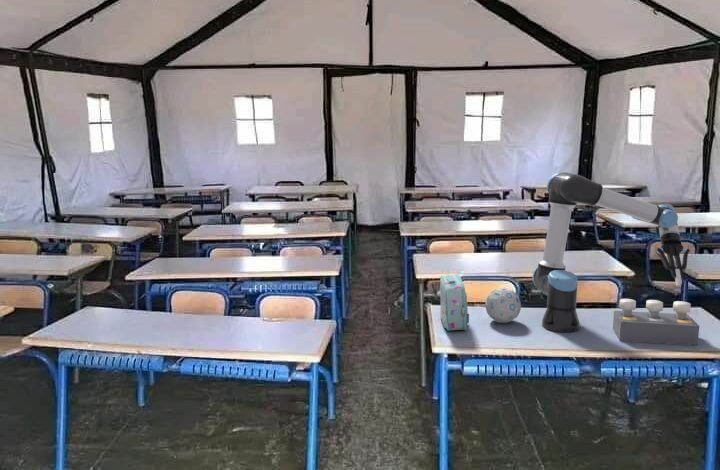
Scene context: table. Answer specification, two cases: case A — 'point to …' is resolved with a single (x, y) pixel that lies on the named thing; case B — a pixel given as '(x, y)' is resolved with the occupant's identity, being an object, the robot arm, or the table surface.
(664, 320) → the console
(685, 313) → the button right
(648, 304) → the button middle
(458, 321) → the lunch box
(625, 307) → the button left
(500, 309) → the puzzle ball
